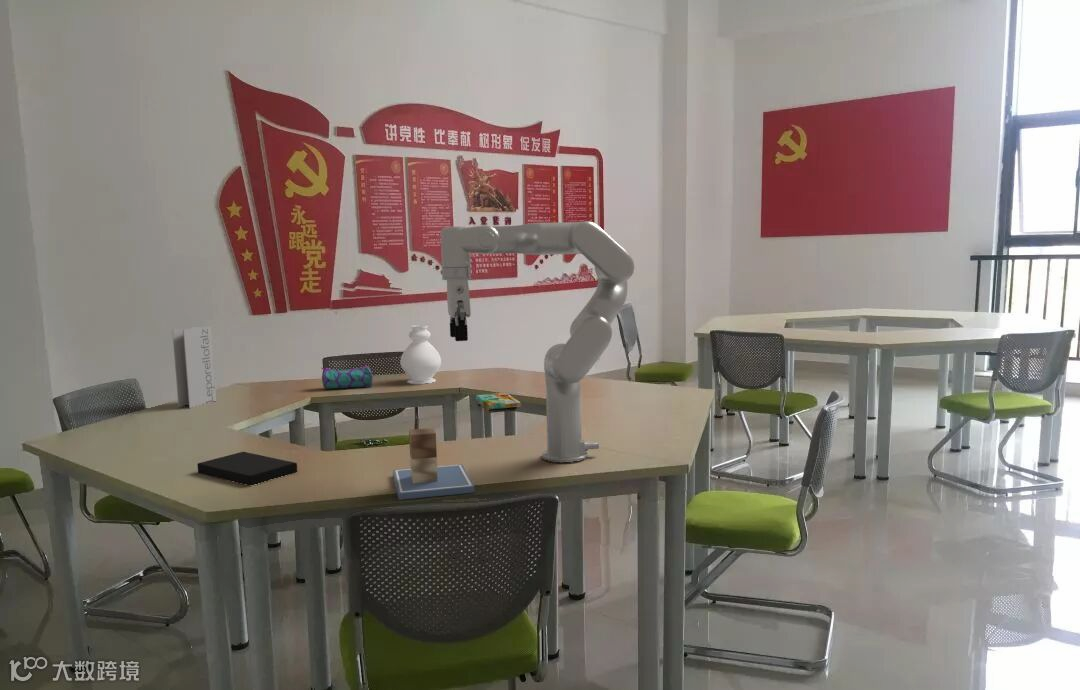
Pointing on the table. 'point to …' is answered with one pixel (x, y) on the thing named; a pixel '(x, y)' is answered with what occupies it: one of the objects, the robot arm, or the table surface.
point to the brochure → (194, 366)
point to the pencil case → (347, 378)
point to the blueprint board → (434, 483)
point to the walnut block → (422, 443)
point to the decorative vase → (420, 357)
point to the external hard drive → (247, 468)
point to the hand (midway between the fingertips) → (458, 338)
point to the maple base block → (423, 470)
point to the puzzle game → (498, 402)
